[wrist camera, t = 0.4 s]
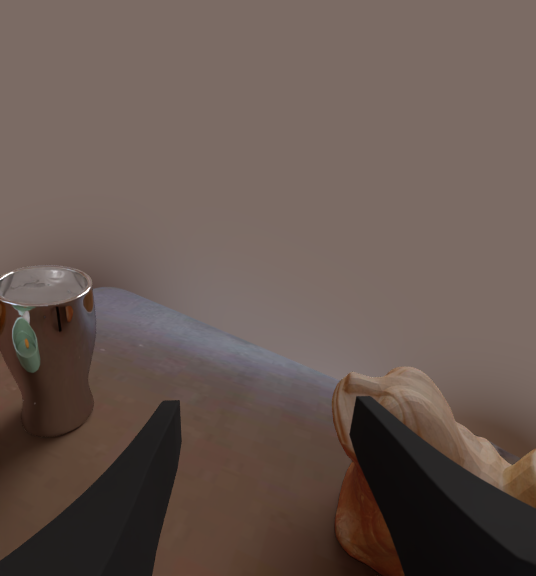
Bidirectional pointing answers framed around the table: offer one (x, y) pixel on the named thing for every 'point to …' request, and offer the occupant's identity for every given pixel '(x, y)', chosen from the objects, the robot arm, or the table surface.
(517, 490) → the frog figurine
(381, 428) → the robot arm
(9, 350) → the beer glass
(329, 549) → the table surface
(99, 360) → the table surface
